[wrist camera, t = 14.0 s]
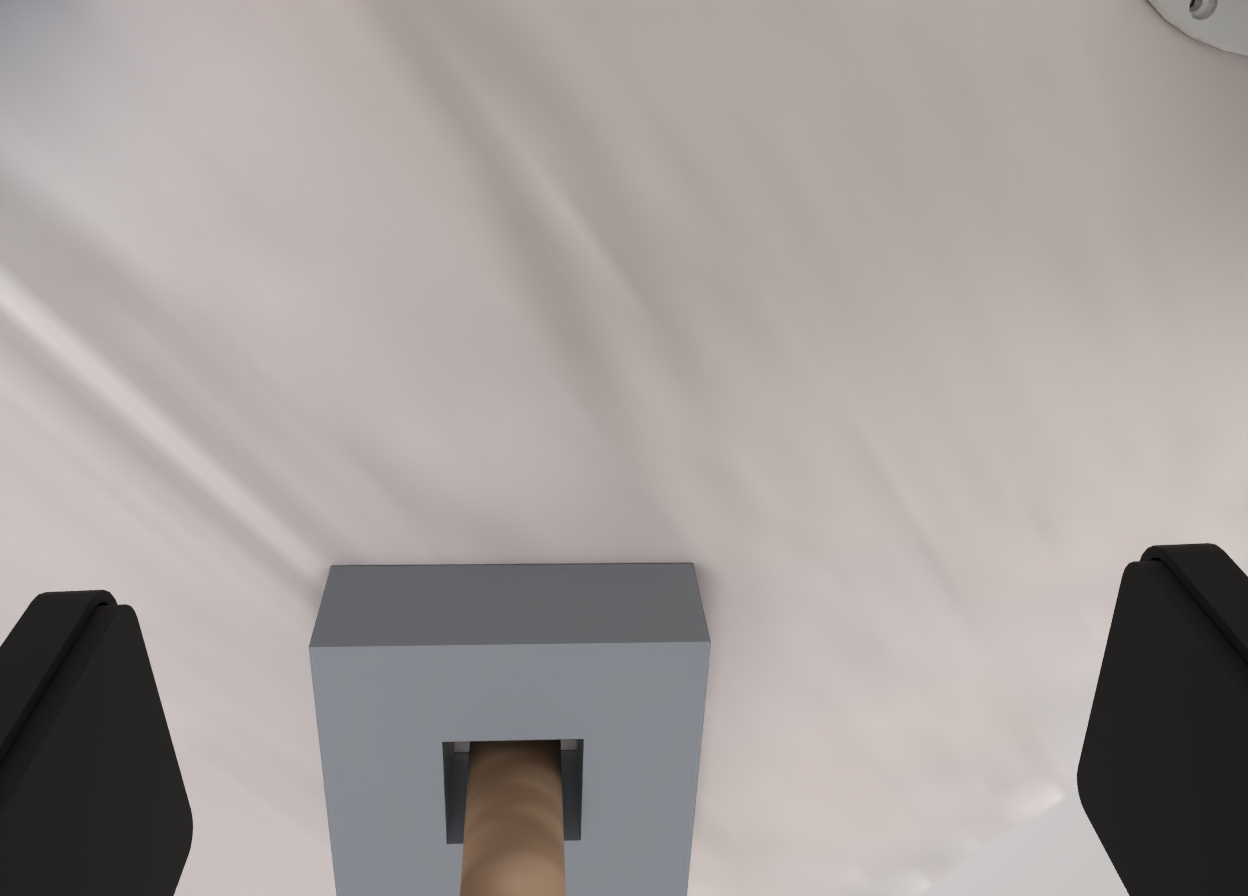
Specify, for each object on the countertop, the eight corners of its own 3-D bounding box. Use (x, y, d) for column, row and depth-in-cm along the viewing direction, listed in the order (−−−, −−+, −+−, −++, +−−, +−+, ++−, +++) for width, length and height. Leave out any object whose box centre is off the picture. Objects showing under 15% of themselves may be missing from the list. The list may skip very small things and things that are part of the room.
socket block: (692, 563, 45) (710, 641, 40) (671, 822, 51) (684, 914, 47) (331, 566, 43) (308, 647, 39) (356, 830, 50) (340, 926, 46)
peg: (559, 668, 47) (566, 860, 38) (558, 736, 48) (565, 934, 40) (471, 670, 46) (458, 863, 38) (473, 737, 48) (461, 937, 39)
